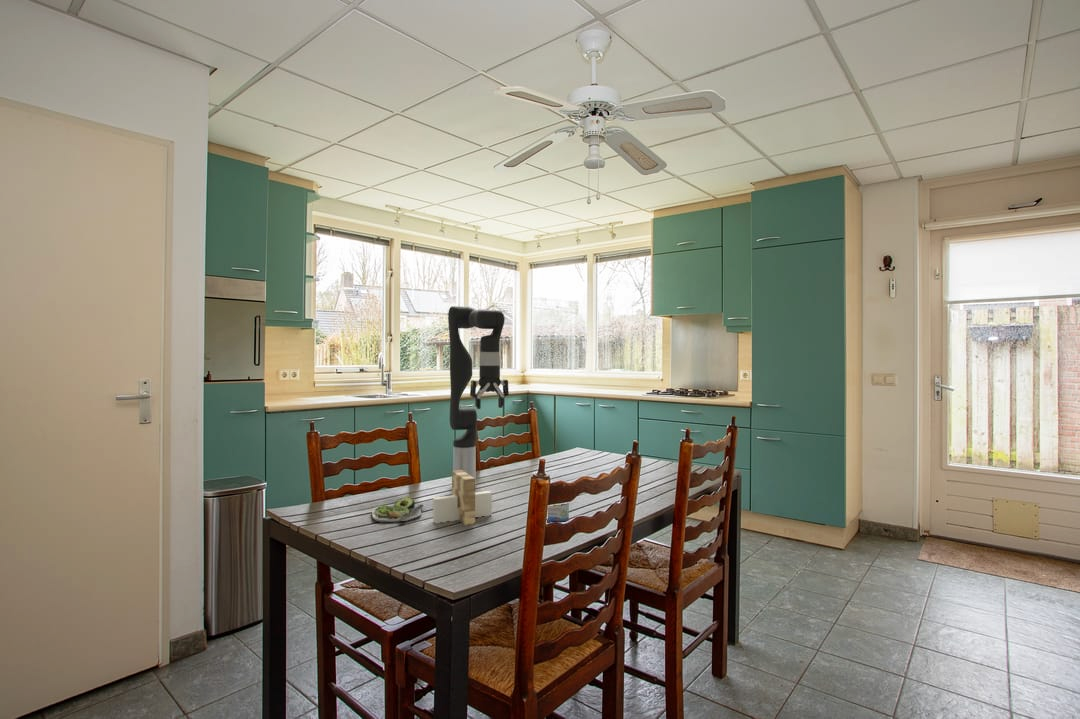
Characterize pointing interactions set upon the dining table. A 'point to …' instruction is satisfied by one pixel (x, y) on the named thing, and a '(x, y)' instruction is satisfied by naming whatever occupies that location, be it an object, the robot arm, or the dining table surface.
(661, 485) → the dining table surface
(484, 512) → the slotted board
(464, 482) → the tan thick flat block
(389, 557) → the dining table surface
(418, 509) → the salad plate
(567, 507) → the medicine box
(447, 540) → the dining table surface
